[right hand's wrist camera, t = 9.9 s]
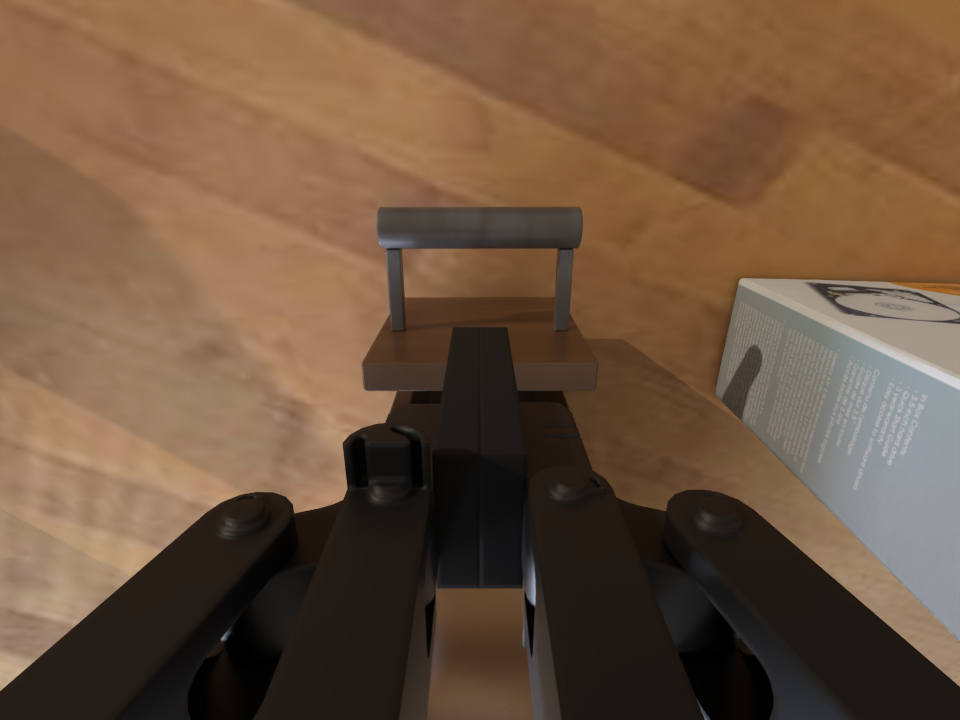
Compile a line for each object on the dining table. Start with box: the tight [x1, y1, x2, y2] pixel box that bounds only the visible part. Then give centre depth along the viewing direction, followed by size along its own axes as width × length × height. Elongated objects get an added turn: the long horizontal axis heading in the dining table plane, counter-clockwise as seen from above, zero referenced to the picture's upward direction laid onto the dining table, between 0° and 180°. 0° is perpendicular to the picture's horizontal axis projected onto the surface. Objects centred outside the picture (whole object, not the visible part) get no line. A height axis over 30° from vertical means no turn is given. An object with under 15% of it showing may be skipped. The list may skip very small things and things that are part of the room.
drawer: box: [362, 207, 598, 413], centre depth 26 cm, size 26×9×10 cm, turn 0°
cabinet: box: [427, 580, 533, 720], centre depth 31 cm, size 22×10×11 cm, turn 0°
